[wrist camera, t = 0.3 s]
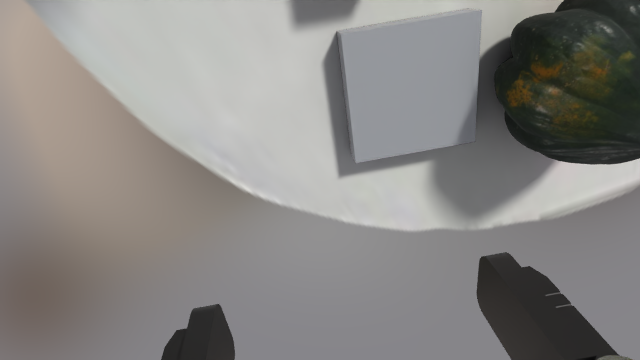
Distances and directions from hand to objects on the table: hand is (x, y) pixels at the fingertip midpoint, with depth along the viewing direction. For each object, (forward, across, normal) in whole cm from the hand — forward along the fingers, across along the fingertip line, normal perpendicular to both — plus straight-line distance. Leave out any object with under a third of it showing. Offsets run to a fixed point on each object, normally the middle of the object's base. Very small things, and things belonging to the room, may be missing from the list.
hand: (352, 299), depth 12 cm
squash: (+27, -25, +2) cm, 37 cm away
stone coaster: (+27, -10, +2) cm, 29 cm away
